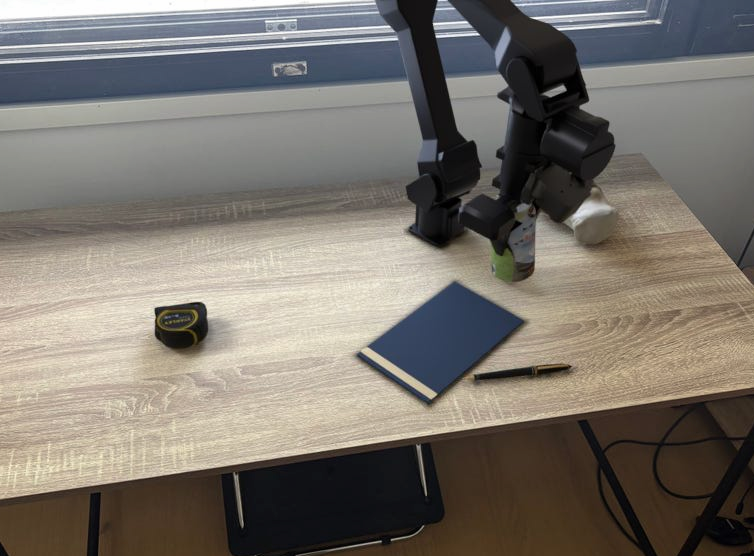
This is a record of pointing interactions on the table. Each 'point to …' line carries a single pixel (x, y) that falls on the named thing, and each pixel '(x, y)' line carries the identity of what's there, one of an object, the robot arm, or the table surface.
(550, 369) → the fountain pen
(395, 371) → the blue hardcover notebook
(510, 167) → the robot arm
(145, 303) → the table surface
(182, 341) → the tape measure
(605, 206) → the ceramic sculpture
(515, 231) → the beverage can
